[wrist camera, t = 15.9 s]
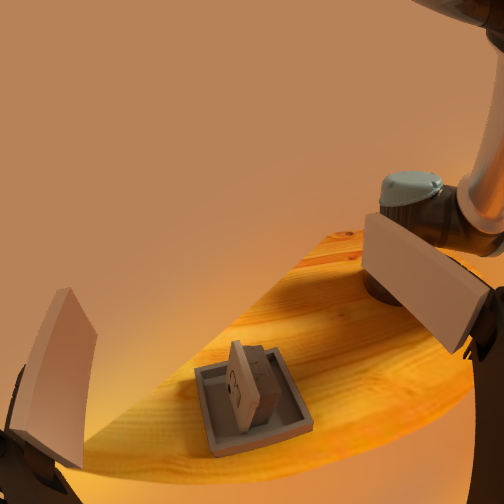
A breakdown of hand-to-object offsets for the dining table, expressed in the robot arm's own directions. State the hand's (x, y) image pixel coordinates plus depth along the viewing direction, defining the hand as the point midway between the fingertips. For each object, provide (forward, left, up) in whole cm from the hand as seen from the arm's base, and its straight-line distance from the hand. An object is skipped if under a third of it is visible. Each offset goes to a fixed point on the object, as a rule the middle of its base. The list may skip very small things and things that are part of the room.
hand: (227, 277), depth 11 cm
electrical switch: (0, -10, -28) cm, 29 cm away
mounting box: (0, -10, -28) cm, 30 cm away
